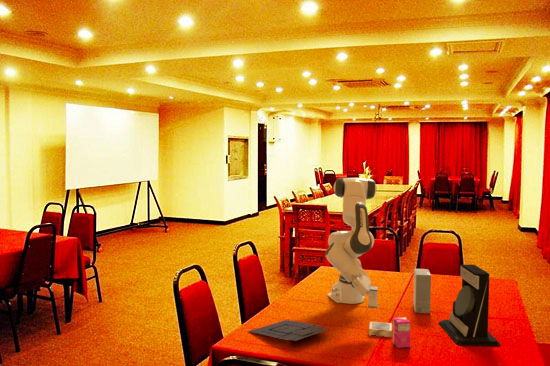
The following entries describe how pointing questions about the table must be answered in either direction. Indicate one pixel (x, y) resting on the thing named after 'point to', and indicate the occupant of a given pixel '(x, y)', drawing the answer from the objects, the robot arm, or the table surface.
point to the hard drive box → (422, 291)
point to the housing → (373, 302)
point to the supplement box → (401, 332)
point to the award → (471, 310)
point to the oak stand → (380, 329)
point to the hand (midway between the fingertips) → (374, 295)
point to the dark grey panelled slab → (289, 330)
